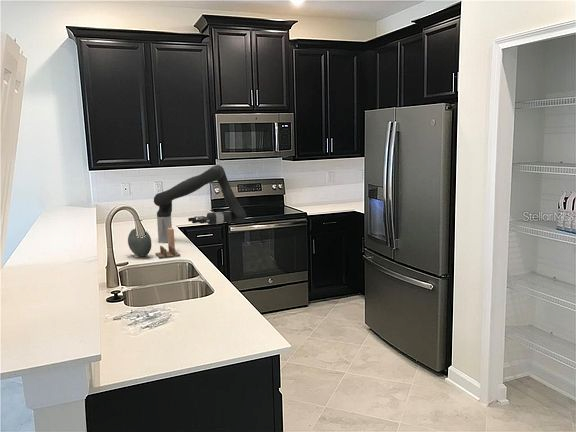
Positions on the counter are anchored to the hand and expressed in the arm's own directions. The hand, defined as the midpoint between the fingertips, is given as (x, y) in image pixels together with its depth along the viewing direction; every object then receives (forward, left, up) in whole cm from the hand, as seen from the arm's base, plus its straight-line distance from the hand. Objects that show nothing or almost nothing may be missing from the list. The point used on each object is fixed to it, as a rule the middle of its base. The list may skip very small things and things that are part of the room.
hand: (190, 220), depth 301 cm
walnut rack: (+11, -17, -18) cm, 27 cm away
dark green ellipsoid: (+5, -32, -18) cm, 37 cm away
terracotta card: (0, -12, -18) cm, 22 cm away
